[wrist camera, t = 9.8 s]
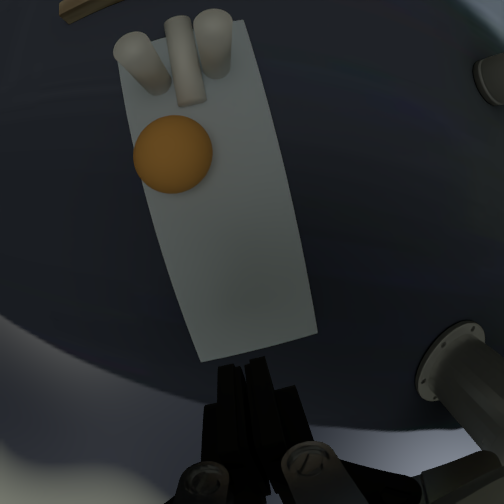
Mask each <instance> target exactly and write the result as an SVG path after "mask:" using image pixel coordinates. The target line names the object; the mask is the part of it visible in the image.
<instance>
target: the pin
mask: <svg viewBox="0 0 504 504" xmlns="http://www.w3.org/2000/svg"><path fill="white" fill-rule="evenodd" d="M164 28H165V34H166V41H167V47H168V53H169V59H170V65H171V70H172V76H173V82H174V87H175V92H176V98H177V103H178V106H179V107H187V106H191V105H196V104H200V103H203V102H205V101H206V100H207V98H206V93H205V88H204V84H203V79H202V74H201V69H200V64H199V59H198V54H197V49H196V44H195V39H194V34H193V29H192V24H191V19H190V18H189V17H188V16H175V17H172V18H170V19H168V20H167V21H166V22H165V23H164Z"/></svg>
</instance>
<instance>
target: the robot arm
mask: <svg viewBox="0 0 504 504" xmlns="http://www.w3.org/2000/svg"><path fill="white" fill-rule="evenodd" d="M245 374H246V381H245V378H244V375H243V372H242V369H241V367H240V366H238V367H235V365H234V364H229V365H224V366H219V367H218V387H217V403H214V404H208V405H205V406H204V414H203V431H202V451H201V462H199V463H196V464H193V465H192V466H190V467H188V468H187V469H186V470H185V471H184V472H183V474H182V475H181V477H180V480H179V483H178V487H177V490H176V494H175V496H174V497H172V498H171V499H170V500H169V501H167V502H166V503H164V504H266V496H267V495H271V490H270V484H269V480H270V483H271V485H272V487H273V489H274V491H275V493H276V494H279V496H280V498H281V500H282V502H283V504H504V357H502V356H501V355H500V354H498V353H497V352H496V351H494V350H493V349H492V348H490V347H489V346H488V345H486V344H485V335H484V331H483V329H482V327H481V326H480V325H478V324H477V323H475V322H473V321H469V320H467V321H462V322H459V323H457V324H455V325H453V326H452V327H450V328H448V329H447V330H446V331H445V332H444V333H442V334H441V335H440V336H439V337H438V338H437V339H436V340H435V342H434V343H433V344H432V345H431V347H430V348H429V349H428V351H427V352H426V354H425V355H424V357H423V359H422V361H421V363H420V365H419V368H418V371H417V374H416V379H415V386H416V390H417V392H418V394H419V395H420V396H421V397H422V398H423V399H425V400H427V401H437V400H440V401H441V403H442V404H443V405H444V406H445V407H446V408H447V410H448V411H449V412H450V413H451V414H452V415H453V416H454V418H455V419H456V420H457V421H458V422H459V423H460V425H461V426H462V427H463V428H464V429H465V430H466V432H467V433H468V434H469V435H470V436H471V438H472V439H473V440H474V441H475V442H476V444H477V445H478V446H479V447H480V448H481V450H482V451H478V452H475V453H473V454H470V455H468V456H465V457H463V458H460V459H458V460H455V461H452V462H450V463H447V464H444V465H441V466H438V467H435V468H432V469H429V470H426V471H423V472H422V473H421V474H420V475H417V476H413V477H408V476H406V475H401V474H395V473H391V472H386V471H382V470H378V469H374V468H369V467H366V466H362V465H358V464H354V463H351V462H347V461H344V460H340V459H339V458H338V457H337V455H336V454H335V452H334V451H333V449H331V447H330V446H329V445H327V444H325V443H323V442H317V441H314V440H313V437H312V434H311V431H310V428H309V425H308V422H307V419H306V416H305V413H304V410H303V407H302V404H301V401H300V398H299V395H298V392H297V389H296V386H295V385H293V386H290V387H286V388H282V389H278V390H274V387H273V384H272V380H271V377H270V373H269V370H268V366H267V363H266V359H265V356H263V357H259V358H255V359H250V364H247V365H245ZM246 382H247V384H246Z"/></svg>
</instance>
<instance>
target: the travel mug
mask: <svg viewBox="0 0 504 504" xmlns="http://www.w3.org/2000/svg"><path fill="white" fill-rule="evenodd" d="M473 74H474V79H475V83H476V85H477V88H478V90H479V92H480V93H481V95H482V96H483V98H484V99H485V100H486V101H487V102H488V103H490V104H492V105H495V106H496V105H502V104H504V53H501V54H497V55H494V56H491V57H488V58H485V59H482V60H479V61H477V62H476V63H475V65H474V68H473Z"/></svg>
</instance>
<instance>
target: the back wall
mask: <svg viewBox="0 0 504 504" xmlns="http://www.w3.org/2000/svg"><path fill="white" fill-rule="evenodd" d="M120 1H123V0H64V1H62V2H60V3H59V16H60V17H61V18H62V19H64V20H65V21H66V22H67V23H68V24H71V23H73V22H75V21H77V20H79V19H81V18H83V17H85V16H87V15H90V14H92V13H94V12H96V11H98V10H101V9H103V8H105V7H108V6H110V5H113V4H115V3H118V2H120Z"/></svg>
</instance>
